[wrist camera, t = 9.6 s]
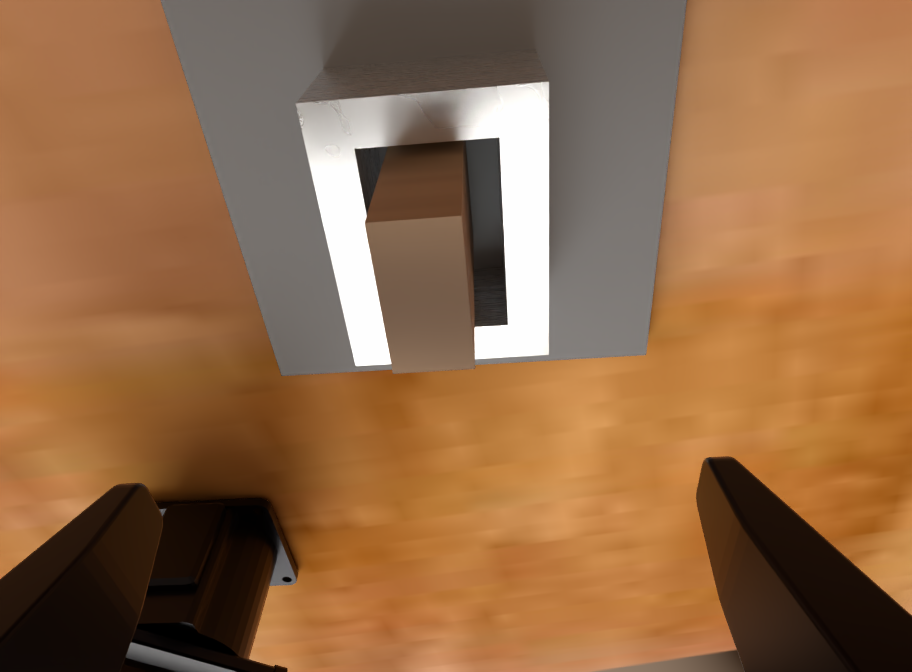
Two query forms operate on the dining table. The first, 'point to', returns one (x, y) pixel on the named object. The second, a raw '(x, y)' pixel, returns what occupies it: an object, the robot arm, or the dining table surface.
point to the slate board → (570, 149)
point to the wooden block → (424, 256)
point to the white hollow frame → (428, 121)
